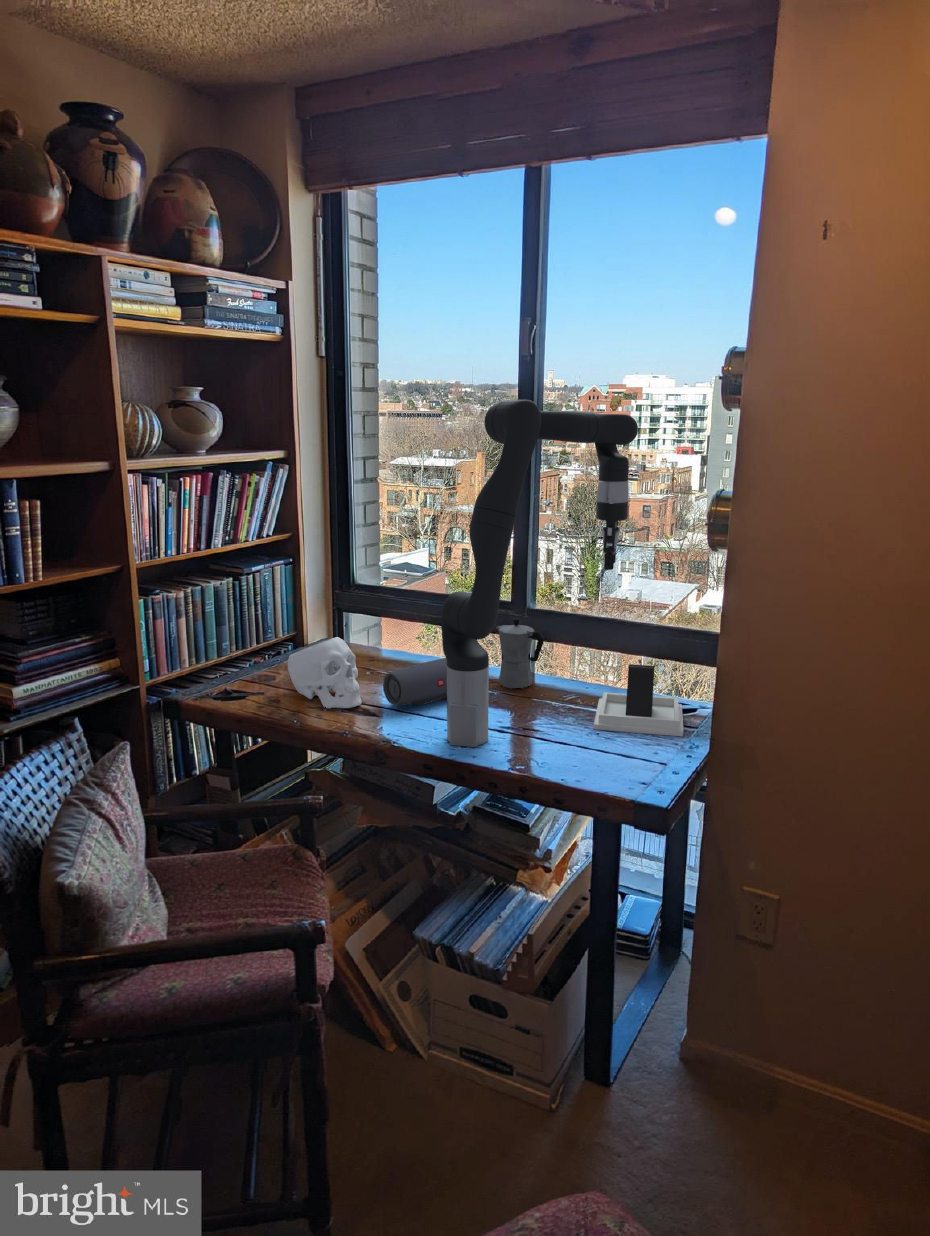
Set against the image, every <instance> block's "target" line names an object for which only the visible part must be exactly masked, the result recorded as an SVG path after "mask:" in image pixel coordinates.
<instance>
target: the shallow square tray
mask: <svg viewBox="0 0 930 1236" xmlns="http://www.w3.org/2000/svg"><path fill="white" fill-rule="evenodd" d="M626 699H627V693H618V692H615V693H614V692H605V691H604V692H603V693H602V697H600V698H599V699H598V704H597V706H596V707H597V708H596V712H595V716H594V721H593V722H594V723H593V730H597V731H611V732H623V733H634V734H635V733H636V734H646V735H648V734H649V735H661V736H671V737H673V736H674V737H684V720H683V704H681V703H679V697H673V696H672V697H671V696H658V695H653V705H652V718H651V717H639V716H626Z"/></svg>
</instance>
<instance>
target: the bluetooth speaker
mask: <svg viewBox="0 0 930 1236" xmlns="http://www.w3.org/2000/svg"><path fill="white" fill-rule="evenodd" d="M382 688H383V694H384V697H385V699H386V700H387V702H388V703H389V704H390V705H392V706H395V707H396V706H405V705H409V704H412V705H413V706H420V705H421V704H422V705H426V704H429V703H428V702H430V703H432V702H431V701H434V702H437V701H442V700H443V698H444V699H447V660H446V657H444V658H439V659H438V658H437V659H433V660H428V661H425V662H421V663H417V664H412V665H409V666H405V667H402V668H399V669H396V670H392V671H390V672H388V673H386V674H385V676H384V678H383V683H382ZM425 703H426V704H425Z"/></svg>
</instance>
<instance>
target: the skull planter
mask: <svg viewBox="0 0 930 1236" xmlns="http://www.w3.org/2000/svg"><path fill="white" fill-rule="evenodd" d="M356 659H357V658H356V655H355V653H354V652H353V651H352V650H351V648H350V647H349V645H348V643H346V641H345V640H344V639H342V638H340V637H338V636H336V637H331V638H329V639H327V640H324V641H321V642H319V643H316V644H314V645H311V646H308V647H305V648H304V649H301V650H299V651H297V652H294V653H292V654H290V655H288V660H287V670H288V674H289V676H290V679H291V682H292V684H293V686H294V687H295V690H296V691H297V692H298V693H299V694H301V695H302V696H305V697H306V698H308V699H309V700H312V699H313V697H315V696H318V698H319V700H320V702H321V704H322V706H323V708H325V707H326V708H325V709H332V708H333V709H334V708H336V709H351V708H355V707H358V706H360V705H362V702H363V701H362V699H361V696H360V688H361V687H360V685H359V682H358V681H357V680H356V678H358V676H359V669H358V668H357V665H356ZM332 691H333V692H335V694H334V696H333V695H332V694H331V693H330V692H332Z"/></svg>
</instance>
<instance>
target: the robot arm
mask: <svg viewBox="0 0 930 1236" xmlns="http://www.w3.org/2000/svg"><path fill="white" fill-rule="evenodd" d="M483 425H484V428H485V429H484V430H485V431H486V434H487V435H488V438H490V439H491V440H492V441H494V442H495V443H499V444H502V445H503V446H502V451H501V454H500V458H499V461H498V463H497V464H496V467H495V469H494V471H493V472H492V473H491V475H490V476H489V478H488V479H487V481H486V482H485V484H484V485H483V487H482V488H481V490H480V492H479V493H478V495H477V498H476V499H475V503H474V505H473V510H472V515H471V518H470V524H469V530H468V531H469V541H470V546H471V550H472V554H473V558H474V559H473V560H474V563H475V564H474V565H475V574H474V582H473V586H472V591H471V592H467V591H462V590H460V591H459V590H458V591H454V592H451V593H450V594H449V595H448V596H447V597H446V599H445V600H444V602H443V605H442V607H441V608H442V609H441V618H440V620H441V623H440V625H441V640H442V651H443V654H444V656H445V657H444V658H446V660H447V697H446V739H447V741H448V742H449V745H450V746H456V747H457V746H459V747H469V748H470V747H471V748H477V747H478V746H481V745H482V744H485V743H487V742H488V741H489V699H490V698H489V696H490V695H489V685H490V684H489V678H490V677H489V675H490V670H489V669H490V668H489V667H490V665H489V663H490V657H489V653H488V651H487V650H486V649H485V648H484V647H483V646H482V645H481V644H480V643H479V641H478V640H483V639H485V638H487V637H488V636H489V635H490V634H491V633H492V632H493V630H494V627H495V625H496V623H497V619H498V614H499V606H500V599H501V590H502V583H503V577H504V572H505V571H504V570H505V566H506V561H507V556H508V551H509V548H510V542H511V538H512V535H513V532H514V531H513V530H514V528H515V523H516V517H517V513H518V507H519V503H520V500H521V495H522V492H523V488H524V483H525V479H526V476H527V472H528V470H529V469H528V468H529V466H530V463H531V459H532V457H533V453H534V451H535V448H536V446H537V442H538V440H547V441H554V442H555V441H556V442H557V441H558V442H565V443H575V444H577V443H578V444H594V445H595V450H596V456H597V460H598V480H597V481H598V482H597V487H596V507H595V509H596V510H595V511H596V512H595V517H596V520H599V521H605V525H603V526H602V546H603V549H602V551H603V554H604V558H603V559H604V560H603V563H604V564H603V568H604V570H605V571H608V570H609V571H612V570H614V565H615V564H616V558H617V557H616V555H617V553H616V552H617V547H618V542H619V539H620V536H619V535H620V533H621V531H620V529H621V527H620V526H619V522H623V521H626V520H627V519H628V518H629V515H628V514H629V498H630V497H629V493H630V489H629V472H630V471H629V469H630V461H629V459H628V457H627V456H625V455H622V454H621V453H619V450H618V449H619V448H618V446H626V445H629V444H631V443H632V442H634V440H635V439H636V437H637V435H638V432H639V426H638V423H637V421H636V420H635V418H634V417H633V416H631V415H629V414H625V413H624V414H623V413H621V414H620V413H599V412H592V411H581V410H540V408H539V407H538V405H537V404H536V403H535V401H532V400H529V399H512V400H509V399H508V400H501V401H498V402H496V403H494V404H493V405H492V406H490V407H489V408H488V410H487V411H486V413H485V416H484V424H483ZM614 563H615V564H614Z"/></svg>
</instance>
